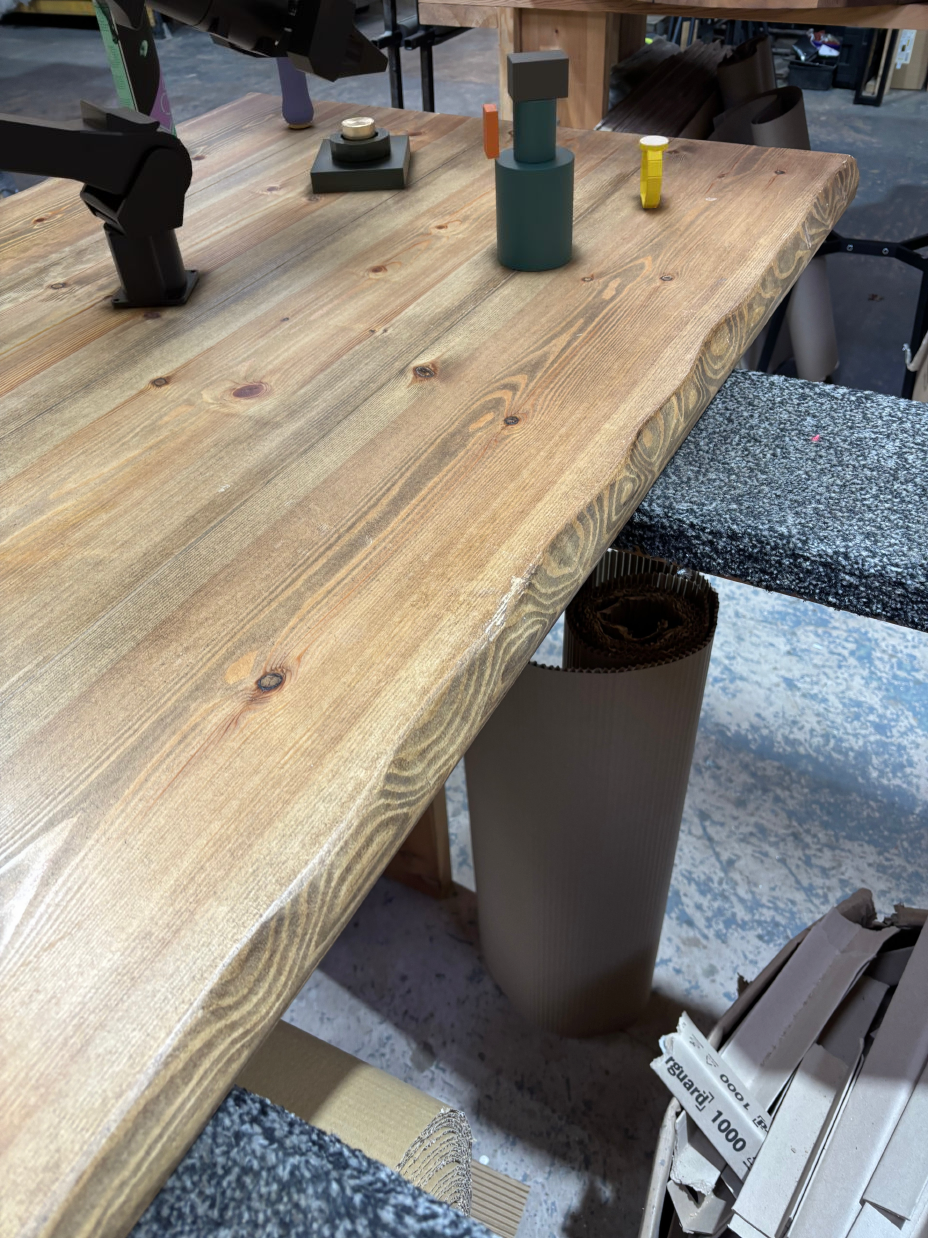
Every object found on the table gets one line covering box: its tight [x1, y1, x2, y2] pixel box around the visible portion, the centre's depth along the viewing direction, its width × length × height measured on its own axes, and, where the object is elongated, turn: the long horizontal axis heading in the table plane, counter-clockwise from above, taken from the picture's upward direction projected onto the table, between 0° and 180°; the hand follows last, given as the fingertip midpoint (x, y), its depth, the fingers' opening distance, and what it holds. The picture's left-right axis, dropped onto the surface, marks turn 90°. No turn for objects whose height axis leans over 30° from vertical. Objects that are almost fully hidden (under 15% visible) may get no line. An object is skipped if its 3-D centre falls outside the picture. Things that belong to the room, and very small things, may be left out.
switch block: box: [309, 126, 411, 195], centre depth 103 cm, size 12×10×4 cm
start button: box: [340, 116, 376, 141], centre depth 102 cm, size 4×4×2 cm
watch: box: [638, 135, 670, 209], centre depth 91 cm, size 6×3×6 cm, turn 178°
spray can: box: [91, 0, 178, 138], centre depth 106 cm, size 6×6×20 cm
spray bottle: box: [494, 48, 576, 272], centre depth 80 cm, size 7×7×16 cm
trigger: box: [482, 102, 500, 160], centre depth 78 cm, size 1×2×4 cm, turn 6°
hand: (357, 56), depth 84 cm, fingers open, 9 cm apart
